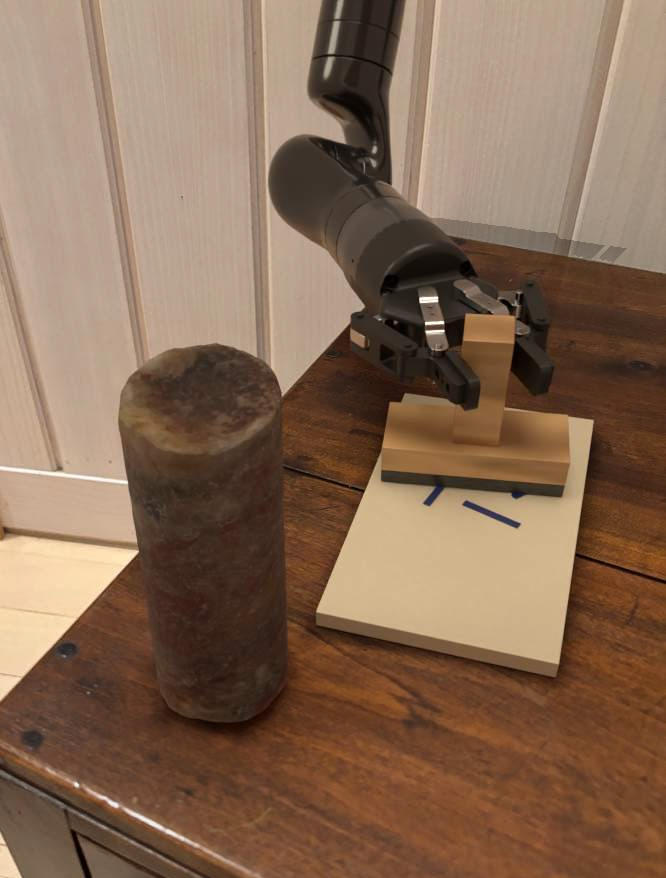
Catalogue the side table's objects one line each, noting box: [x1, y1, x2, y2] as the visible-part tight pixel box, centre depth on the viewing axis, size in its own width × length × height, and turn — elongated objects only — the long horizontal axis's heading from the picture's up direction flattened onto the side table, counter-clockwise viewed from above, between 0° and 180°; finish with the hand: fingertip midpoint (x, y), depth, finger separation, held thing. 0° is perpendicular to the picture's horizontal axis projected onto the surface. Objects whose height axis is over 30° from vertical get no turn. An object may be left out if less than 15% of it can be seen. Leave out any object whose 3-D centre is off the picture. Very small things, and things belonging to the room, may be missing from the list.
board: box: [315, 392, 595, 678], centre depth 61 cm, size 24×14×1 cm, turn 161°
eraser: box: [381, 314, 570, 497], centre depth 60 cm, size 5×12×11 cm, turn 78°
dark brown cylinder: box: [117, 342, 289, 724], centre depth 46 cm, size 8×7×20 cm
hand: (509, 389), depth 55 cm, fingers closed on eraser, 4 cm apart
